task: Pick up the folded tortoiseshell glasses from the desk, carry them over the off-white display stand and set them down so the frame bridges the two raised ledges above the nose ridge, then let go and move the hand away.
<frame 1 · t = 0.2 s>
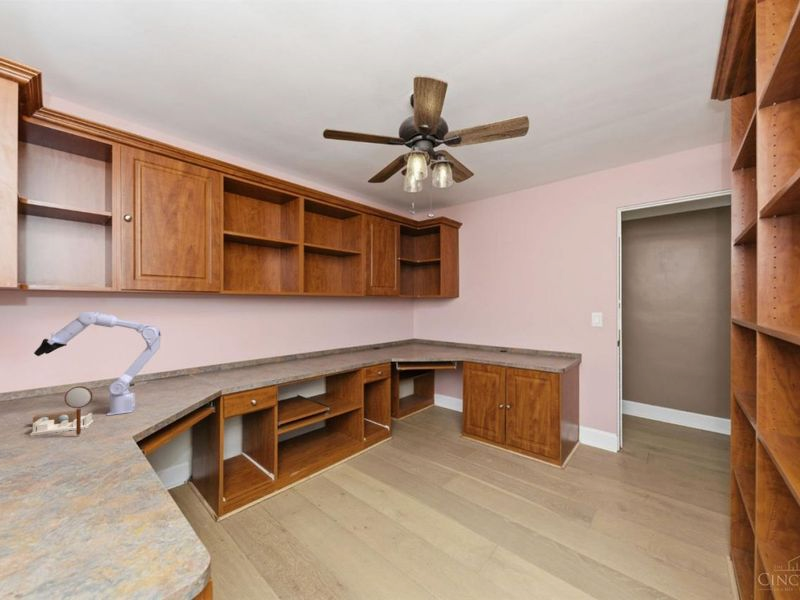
hand: (40, 353, 150), 31 cm above the countertop, tool tilted 45°, fingers open, 7 cm apart
magnifying glass: (78, 437, 133), on the countertop
display stand: (63, 428, 142), on the countertop
glasses: (55, 423, 148), on the countertop
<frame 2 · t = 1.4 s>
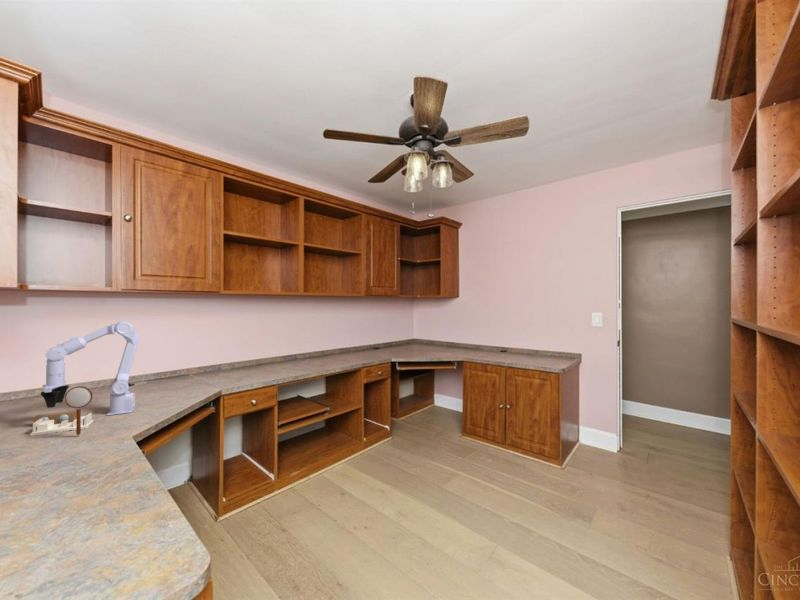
hand: (55, 404, 148), 8 cm above the countertop, tool pointing down, fingers open, 7 cm apart
nothing on the countertop moved.
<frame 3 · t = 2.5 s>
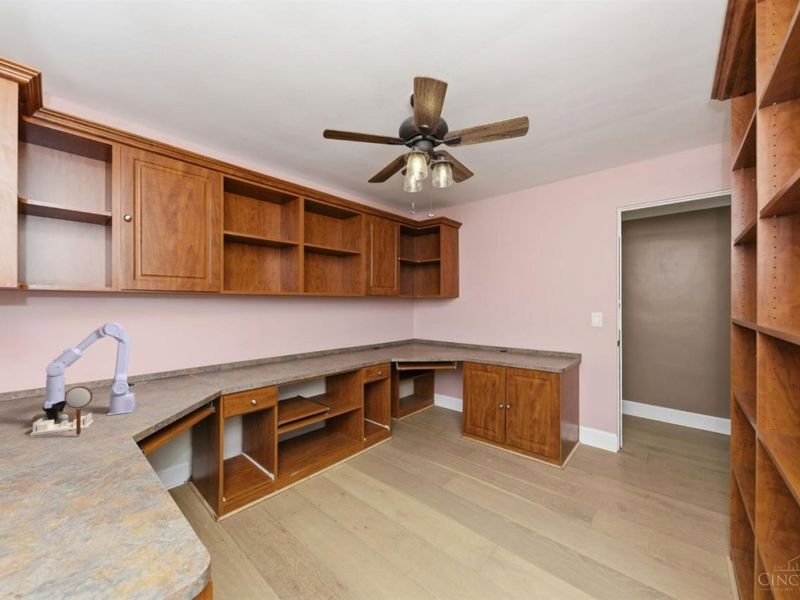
hand: (55, 420, 148), 1 cm above the countertop, tool pointing down, fingers closed on glasses, 4 cm apart
glasses: (55, 423, 148), on the countertop, touching gripper
everything else where it was.
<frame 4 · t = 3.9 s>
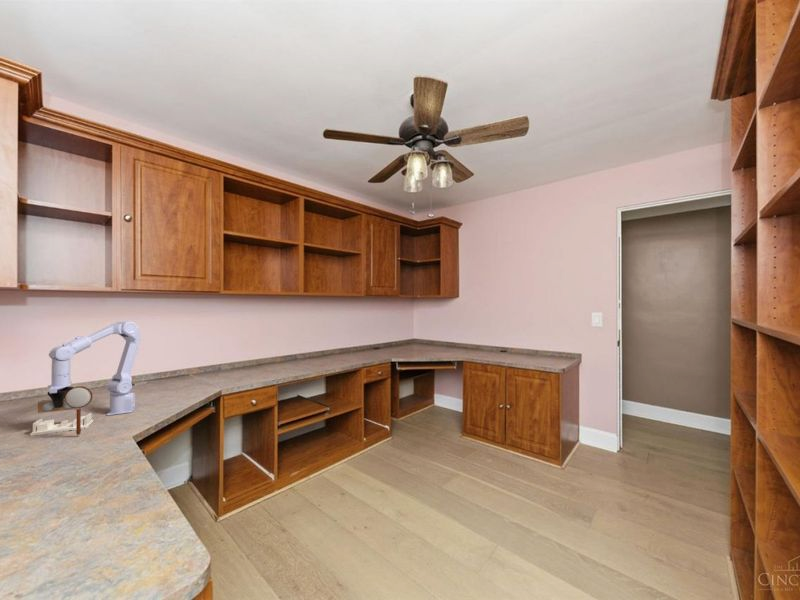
hand: (60, 406, 144), 9 cm above the countertop, tool pointing down, fingers closed on glasses, 4 cm apart
glasses: (60, 409, 144), point 7 cm above the countertop, touching gripper
everything else where it was.
when the fingers open (6 cm above the countertop, at t = 5.0 s): glasses drops 1 cm, resting on display stand.
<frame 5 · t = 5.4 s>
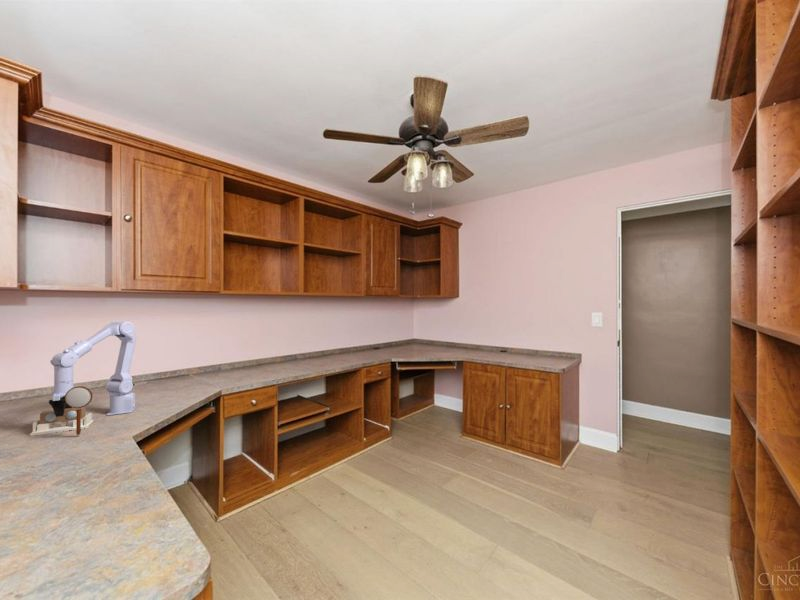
hand: (63, 413, 142), 6 cm above the countertop, tool pointing down, fingers open, 7 cm apart
glasses: (63, 420, 142), point 3 cm above the countertop, touching display stand
everything else where it was.
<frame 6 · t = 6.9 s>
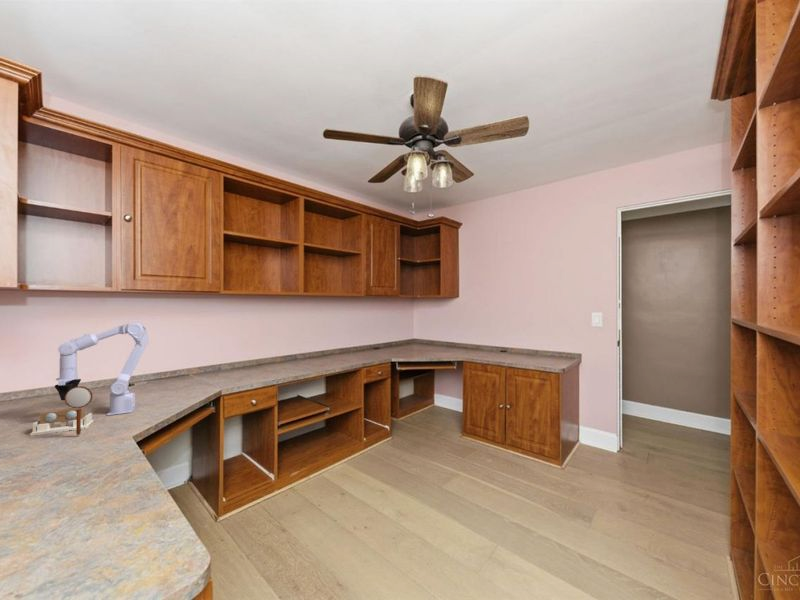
hand: (68, 397, 153), 10 cm above the countertop, tool pointing down, fingers open, 7 cm apart
nothing on the countertop moved.
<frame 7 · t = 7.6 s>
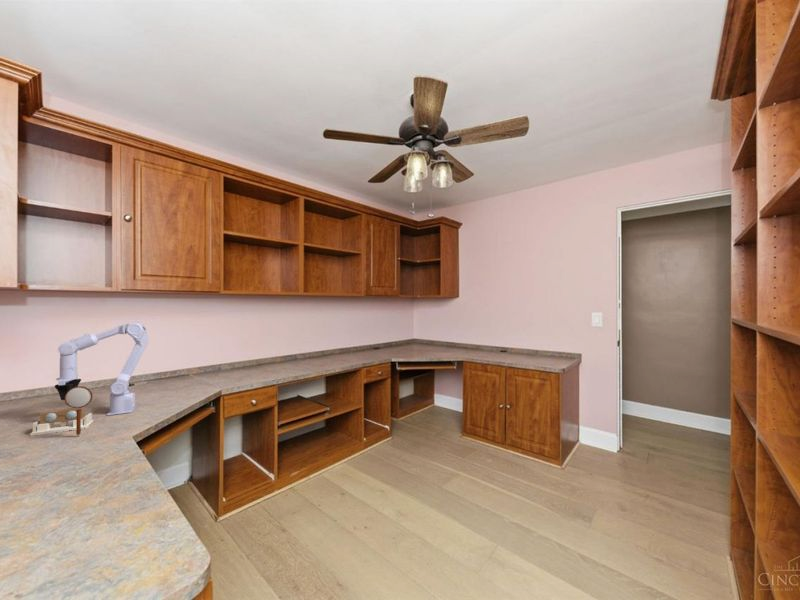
hand: (68, 397, 153), 10 cm above the countertop, tool pointing down, fingers open, 7 cm apart
nothing on the countertop moved.
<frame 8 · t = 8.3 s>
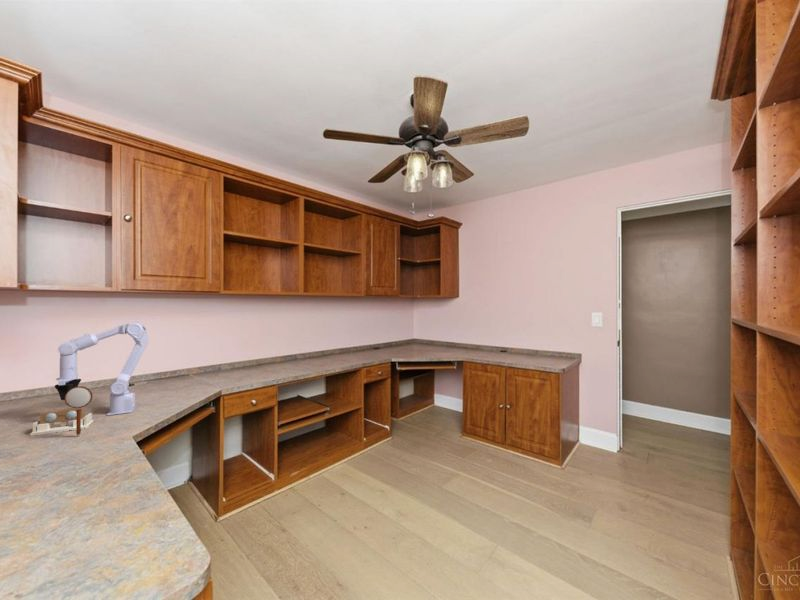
hand: (68, 397, 153), 10 cm above the countertop, tool pointing down, fingers open, 7 cm apart
nothing on the countertop moved.
at the end: glasses 0.1 cm off-centre on the display stand, point 3.5 cm above the display stand's base; glasses tilted 0°; the gripper is holding nothing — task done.
